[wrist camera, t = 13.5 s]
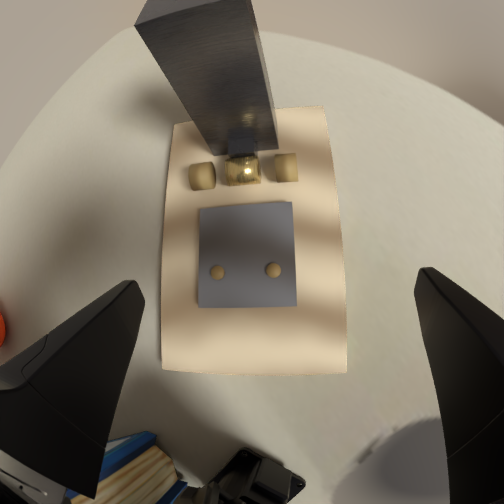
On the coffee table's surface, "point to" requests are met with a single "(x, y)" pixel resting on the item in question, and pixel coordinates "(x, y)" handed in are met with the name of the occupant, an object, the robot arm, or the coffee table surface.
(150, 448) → the book
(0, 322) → the clementine
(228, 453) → the coffee table surface
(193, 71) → the grey block
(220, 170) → the board
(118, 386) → the robot arm
